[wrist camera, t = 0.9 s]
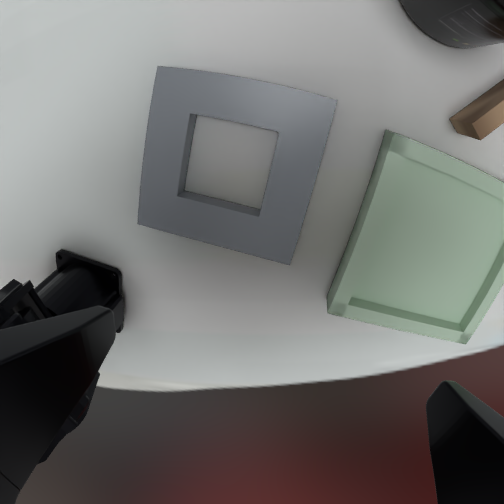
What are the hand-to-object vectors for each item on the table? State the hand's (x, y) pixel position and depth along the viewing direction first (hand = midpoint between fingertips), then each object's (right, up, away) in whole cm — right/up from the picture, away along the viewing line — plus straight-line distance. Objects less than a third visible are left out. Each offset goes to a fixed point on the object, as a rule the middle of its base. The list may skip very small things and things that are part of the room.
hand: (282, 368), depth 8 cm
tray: (+11, +3, +11) cm, 16 cm away
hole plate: (-2, +8, +11) cm, 14 cm away
